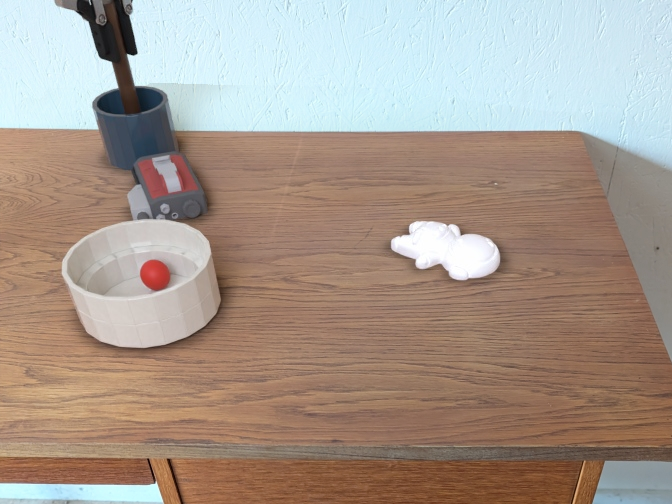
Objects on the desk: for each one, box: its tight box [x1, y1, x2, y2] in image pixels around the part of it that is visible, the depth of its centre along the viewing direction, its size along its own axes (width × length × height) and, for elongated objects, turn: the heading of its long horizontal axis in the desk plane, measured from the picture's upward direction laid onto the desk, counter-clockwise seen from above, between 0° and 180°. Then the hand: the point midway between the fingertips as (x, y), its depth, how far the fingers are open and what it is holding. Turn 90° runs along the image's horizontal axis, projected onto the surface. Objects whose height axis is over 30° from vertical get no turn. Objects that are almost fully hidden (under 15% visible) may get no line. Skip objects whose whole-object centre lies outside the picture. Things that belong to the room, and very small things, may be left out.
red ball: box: [140, 260, 170, 290], centre depth 75 cm, size 3×3×3 cm
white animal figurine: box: [390, 220, 501, 281], centre depth 79 cm, size 9×12×3 cm
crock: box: [91, 85, 180, 171], centre depth 93 cm, size 9×9×7 cm
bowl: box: [61, 219, 222, 349], centre depth 72 cm, size 14×14×6 cm
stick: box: [102, 0, 141, 115], centre depth 89 cm, size 2×2×17 cm
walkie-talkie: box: [126, 151, 209, 221], centre depth 85 cm, size 9×4×20 cm
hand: (118, 55), depth 86 cm, fingers closed on stick, 2 cm apart
